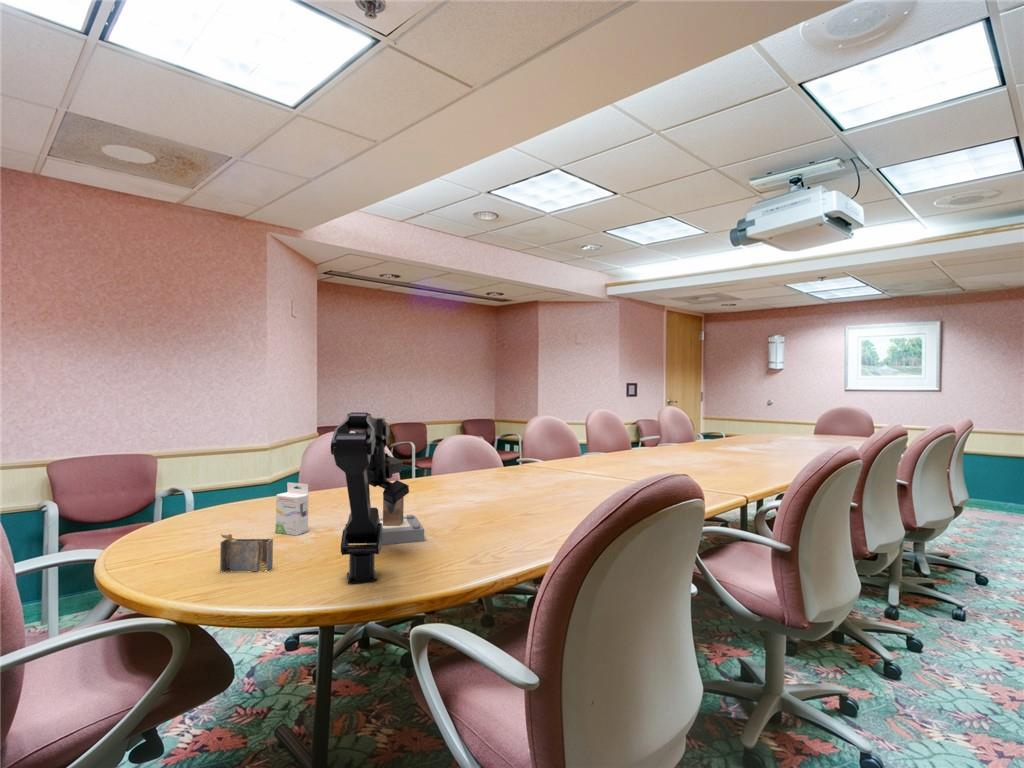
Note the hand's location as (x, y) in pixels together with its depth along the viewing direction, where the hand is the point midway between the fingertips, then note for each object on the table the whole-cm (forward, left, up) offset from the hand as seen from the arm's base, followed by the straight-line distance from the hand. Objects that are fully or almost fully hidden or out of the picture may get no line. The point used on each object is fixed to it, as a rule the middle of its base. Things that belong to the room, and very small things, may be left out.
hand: (379, 506), depth 147 cm
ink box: (+23, +24, -12) cm, 35 cm away
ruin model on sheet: (-9, +32, -12) cm, 36 cm away
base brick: (+10, -5, -11) cm, 16 cm away
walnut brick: (+10, -5, -8) cm, 14 cm away
